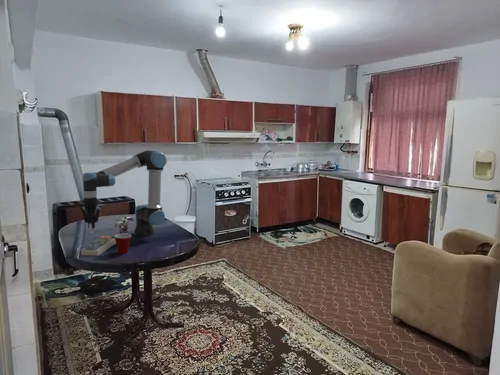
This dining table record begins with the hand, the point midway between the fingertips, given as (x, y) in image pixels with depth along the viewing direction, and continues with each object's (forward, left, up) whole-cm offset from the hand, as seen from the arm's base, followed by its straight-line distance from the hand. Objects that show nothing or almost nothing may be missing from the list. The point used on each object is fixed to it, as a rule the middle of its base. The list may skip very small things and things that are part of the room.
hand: (91, 233), depth 222 cm
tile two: (0, -8, -10) cm, 12 cm away
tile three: (0, 0, -10) cm, 10 cm away
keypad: (0, -8, -13) cm, 15 cm away
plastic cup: (-19, -3, -14) cm, 24 cm away
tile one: (0, -16, -10) cm, 19 cm away
